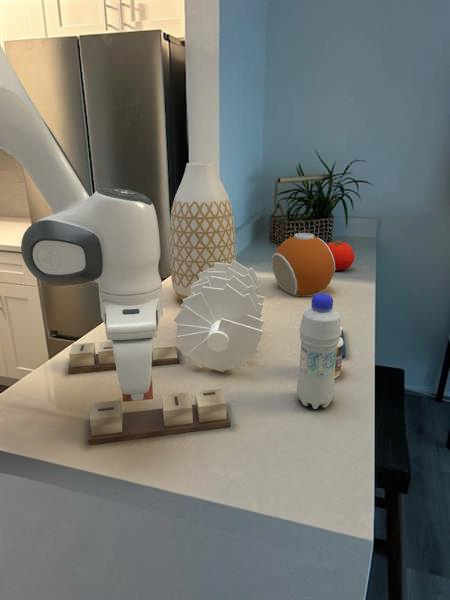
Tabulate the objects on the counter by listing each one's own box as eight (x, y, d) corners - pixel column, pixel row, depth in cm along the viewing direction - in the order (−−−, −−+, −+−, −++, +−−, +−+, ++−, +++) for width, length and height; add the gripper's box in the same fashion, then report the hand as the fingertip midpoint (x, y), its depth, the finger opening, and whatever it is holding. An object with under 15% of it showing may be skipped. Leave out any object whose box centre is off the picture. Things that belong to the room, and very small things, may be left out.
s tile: (122, 402, 65) (121, 384, 64) (123, 386, 69) (122, 369, 68) (153, 399, 66) (152, 381, 65) (152, 383, 70) (151, 366, 69)
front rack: (88, 445, 65) (85, 422, 64) (92, 421, 71) (89, 400, 69) (230, 426, 69) (230, 405, 68) (223, 405, 75) (223, 385, 73)
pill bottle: (326, 383, 81) (330, 335, 78) (304, 371, 86) (307, 325, 82) (346, 374, 85) (351, 328, 81) (324, 363, 89) (327, 319, 86)
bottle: (295, 389, 79) (301, 287, 73) (332, 392, 78) (342, 289, 72) (295, 410, 73) (301, 300, 66) (335, 414, 72) (346, 303, 65)
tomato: (328, 263, 163) (331, 236, 159) (359, 269, 154) (362, 241, 151) (311, 268, 156) (313, 240, 152) (341, 276, 147) (344, 246, 144)
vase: (162, 307, 120) (154, 164, 107) (184, 286, 137) (179, 161, 124) (227, 312, 116) (226, 165, 103) (241, 291, 133) (242, 162, 120)
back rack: (68, 374, 85) (65, 355, 84) (72, 360, 91) (70, 342, 89) (179, 363, 89) (178, 345, 88) (176, 350, 95) (175, 333, 93)
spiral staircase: (196, 394, 85) (210, 335, 108) (278, 364, 81) (275, 310, 104) (151, 318, 80) (176, 273, 103) (237, 281, 75) (243, 243, 98)
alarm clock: (343, 295, 129) (349, 238, 123) (293, 303, 122) (296, 243, 116) (308, 277, 145) (311, 226, 139) (262, 284, 139) (263, 230, 133)
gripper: (112, 283, 71) (118, 358, 76) (104, 334, 52) (113, 429, 57) (151, 281, 72) (155, 355, 77) (157, 330, 53) (161, 424, 58)
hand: (137, 387), depth 67 cm, fingers closed on s tile, 4 cm apart
